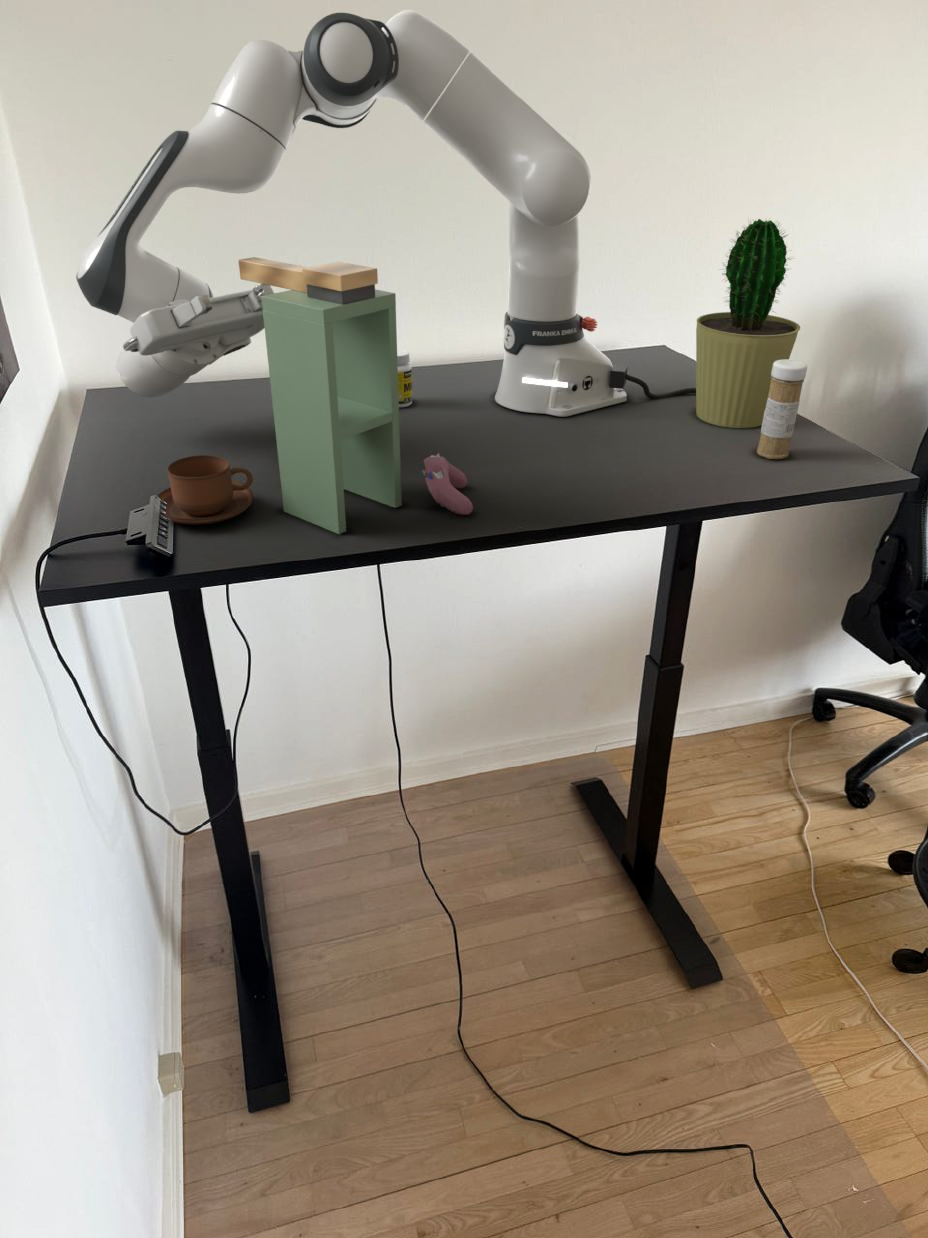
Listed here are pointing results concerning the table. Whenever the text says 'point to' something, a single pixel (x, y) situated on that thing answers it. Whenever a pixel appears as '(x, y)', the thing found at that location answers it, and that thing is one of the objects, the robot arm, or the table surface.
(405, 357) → the supplement bottle
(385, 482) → the sage stand
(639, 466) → the table surface
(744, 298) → the potted cactus
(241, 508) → the cup and saucer
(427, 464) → the video game controller
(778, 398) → the sprinkles bottle
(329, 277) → the desk brush
